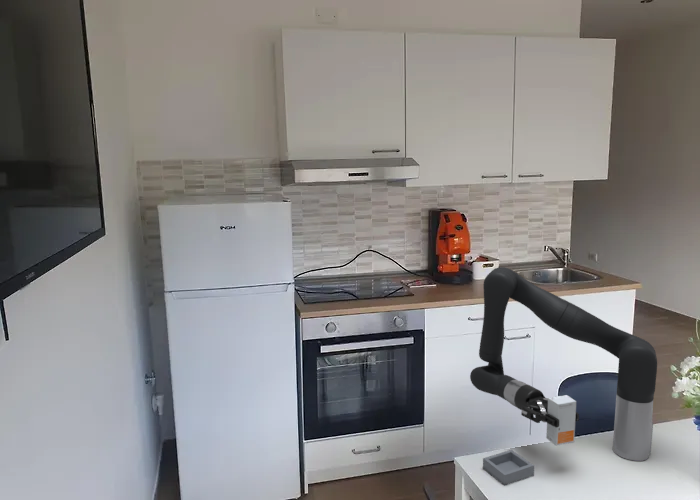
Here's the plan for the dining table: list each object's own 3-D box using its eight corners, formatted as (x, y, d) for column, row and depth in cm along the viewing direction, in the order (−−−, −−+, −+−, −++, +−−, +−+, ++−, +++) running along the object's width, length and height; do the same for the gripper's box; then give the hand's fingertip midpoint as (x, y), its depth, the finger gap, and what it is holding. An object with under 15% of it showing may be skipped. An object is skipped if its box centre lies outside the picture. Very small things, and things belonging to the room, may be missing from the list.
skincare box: (555, 446, 139) (557, 404, 137) (545, 438, 143) (547, 397, 141) (575, 442, 141) (577, 400, 139) (564, 435, 145) (566, 394, 143)
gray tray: (511, 459, 149) (511, 449, 148) (533, 475, 141) (534, 465, 140) (482, 468, 145) (483, 458, 144) (504, 485, 137) (504, 475, 136)
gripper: (504, 389, 150) (548, 413, 135) (542, 379, 156) (588, 401, 141) (503, 414, 152) (547, 440, 137) (541, 403, 157) (587, 427, 142)
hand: (568, 420), depth 139 cm, fingers closed on skincare box, 6 cm apart
